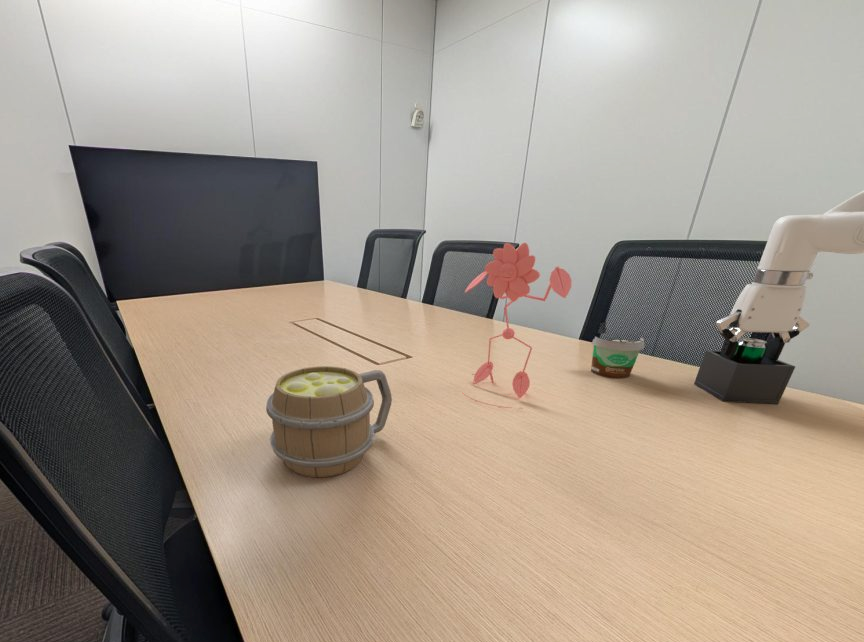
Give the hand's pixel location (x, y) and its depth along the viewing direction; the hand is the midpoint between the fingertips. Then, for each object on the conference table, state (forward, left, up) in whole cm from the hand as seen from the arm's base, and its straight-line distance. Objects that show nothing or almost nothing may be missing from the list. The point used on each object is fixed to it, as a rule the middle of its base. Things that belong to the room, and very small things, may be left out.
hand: (748, 357), depth 86 cm
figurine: (+56, +8, -9) cm, 57 cm away
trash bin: (0, 0, -9) cm, 9 cm away
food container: (+22, -9, -9) cm, 26 cm away
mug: (+88, +39, -9) cm, 97 cm away
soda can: (0, 0, -8) cm, 8 cm away
